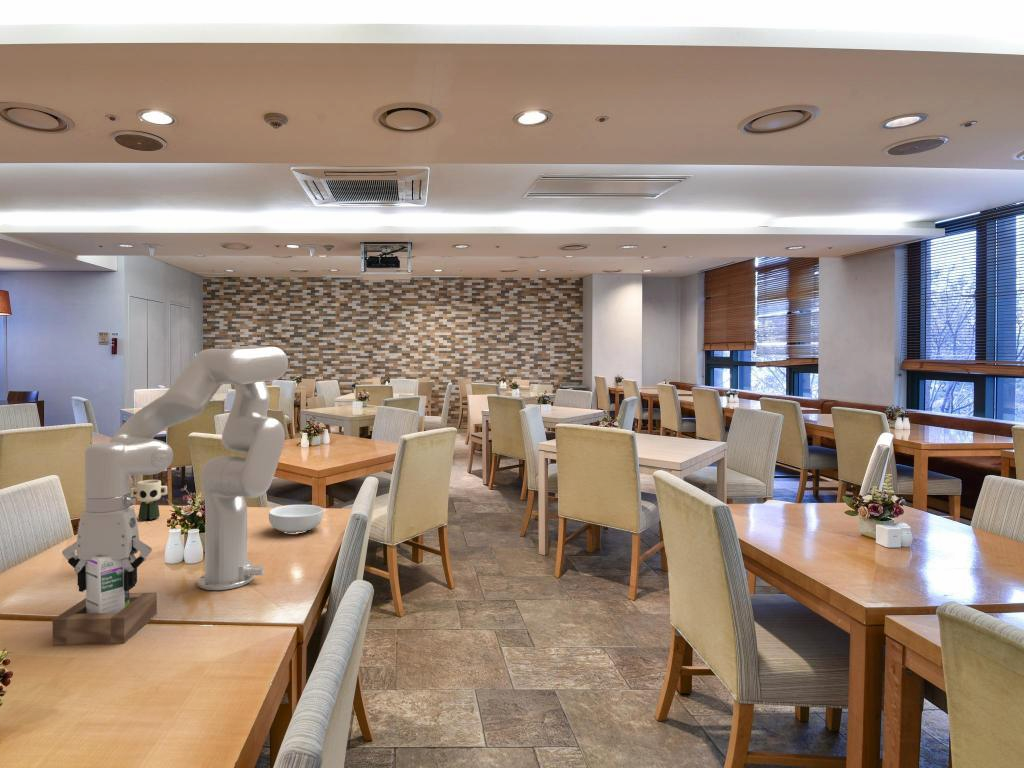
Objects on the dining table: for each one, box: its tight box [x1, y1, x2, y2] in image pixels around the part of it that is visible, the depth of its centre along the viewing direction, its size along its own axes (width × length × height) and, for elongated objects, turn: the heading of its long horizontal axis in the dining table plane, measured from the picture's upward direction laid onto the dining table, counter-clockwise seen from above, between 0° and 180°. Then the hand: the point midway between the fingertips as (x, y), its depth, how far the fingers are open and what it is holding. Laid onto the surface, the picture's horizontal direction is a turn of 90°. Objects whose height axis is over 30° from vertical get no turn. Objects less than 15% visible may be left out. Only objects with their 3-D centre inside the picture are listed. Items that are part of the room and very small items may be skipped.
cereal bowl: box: [268, 504, 324, 533], centre depth 194 cm, size 17×17×7 cm
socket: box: [52, 591, 158, 646], centre depth 122 cm, size 13×13×5 cm
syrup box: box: [85, 556, 130, 614], centre depth 121 cm, size 6×6×14 cm
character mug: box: [129, 479, 168, 521], centre depth 204 cm, size 11×7×13 cm, turn 116°
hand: (107, 588), depth 122 cm, fingers closed on syrup box, 8 cm apart
